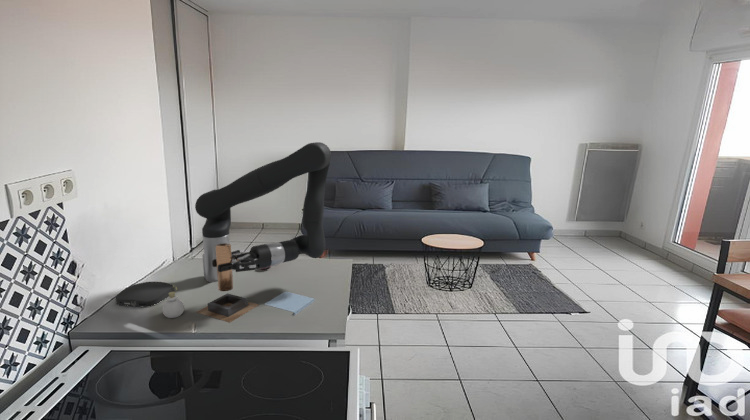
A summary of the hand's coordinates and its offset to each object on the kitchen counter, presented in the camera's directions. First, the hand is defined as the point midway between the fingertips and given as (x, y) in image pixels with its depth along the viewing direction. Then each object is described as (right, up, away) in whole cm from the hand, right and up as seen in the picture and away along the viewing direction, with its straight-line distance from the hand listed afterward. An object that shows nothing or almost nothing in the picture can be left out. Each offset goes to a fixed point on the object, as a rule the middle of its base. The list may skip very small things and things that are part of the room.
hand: (215, 266), depth 132 cm
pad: (+20, -14, +11) cm, 27 cm away
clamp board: (+2, -15, +5) cm, 16 cm away
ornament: (-13, -16, +2) cm, 21 cm away
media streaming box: (-29, -13, +15) cm, 35 cm away
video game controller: (+6, -6, +44) cm, 45 cm away
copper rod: (+2, -7, +4) cm, 8 cm away
